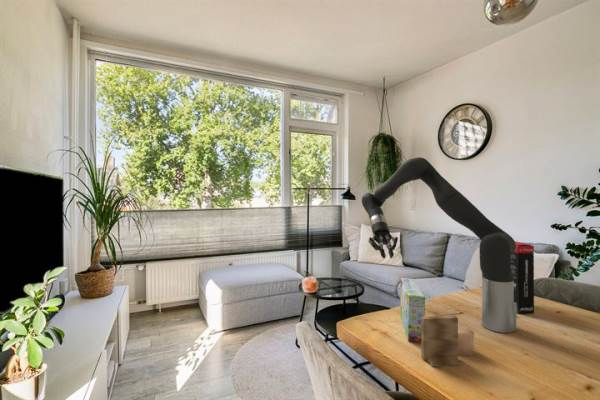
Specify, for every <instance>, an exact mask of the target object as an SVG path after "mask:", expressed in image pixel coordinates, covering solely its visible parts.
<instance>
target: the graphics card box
mask: <svg viewBox="0 0 600 400" xmlns="http://www.w3.org/2000/svg"><path fill="white" fill-rule="evenodd" d="M514 241H515V240H514ZM515 243H516V250H515V252H514V254H512V255H511V270H512V272H513V274H514V302H516V304H517V315H518V314H520V315H521V314H523V315H524V314H525V315H526V314H528V315H529V314H535V259H534V258H535V247H534V245H532V244H527V243H524V242H519V241H515Z"/></svg>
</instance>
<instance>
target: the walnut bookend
mask: <svg viewBox="0 0 600 400" xmlns="http://www.w3.org/2000/svg"><path fill="white" fill-rule="evenodd" d="M458 327H459V317H457V316H456V315H433V316H425V317H421V342H420V345H421V346H420V347H421V349H420V350H421V352H420V353H421V359H422V360H423V362H424V361H427V362H428V364H430V366H431V367H455V366H461V365H462V363H461V361H460V360H459V354H458Z"/></svg>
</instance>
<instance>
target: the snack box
mask: <svg viewBox="0 0 600 400" xmlns="http://www.w3.org/2000/svg"><path fill="white" fill-rule="evenodd" d="M399 280H400V282H399V283H400V291H399V292H400V293H399V294H400V295H399V297H400V301H399V302H400V305H399V308H400V309H399V313H400V314H399V316H400V320H401V323H402V325H403V329H404V332H405V335H406V338H407V341H408V342H415V343H421V317H426V316H425V311H426V296H425V295H424V293H423V292H422V290H421V287H419V285H418V283H417V282H416V280H415V278H410V277H409V278H408V277H407V278H405V277H400V278H399Z"/></svg>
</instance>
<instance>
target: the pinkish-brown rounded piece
mask: <svg viewBox="0 0 600 400" xmlns="http://www.w3.org/2000/svg"><path fill="white" fill-rule="evenodd" d="M474 353H475V331H473V330H472V329H470V328H468V327H464V326H458V356H459V355H460V356H463V357H470V356H471V357H472V356H473V355H474Z"/></svg>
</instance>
